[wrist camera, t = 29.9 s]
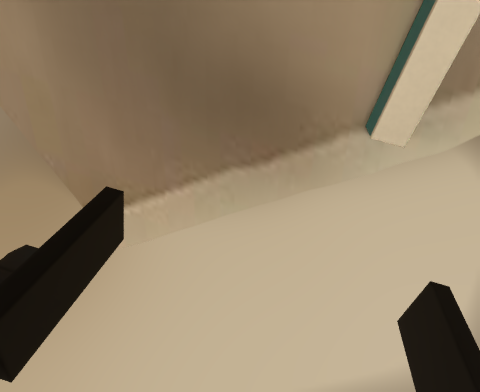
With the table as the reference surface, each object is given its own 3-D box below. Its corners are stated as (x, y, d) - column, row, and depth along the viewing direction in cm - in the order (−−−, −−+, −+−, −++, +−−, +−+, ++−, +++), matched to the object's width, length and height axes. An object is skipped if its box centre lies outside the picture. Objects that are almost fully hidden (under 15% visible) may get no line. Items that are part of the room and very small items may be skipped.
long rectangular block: (396, 134, 43) (404, 147, 40) (365, 126, 44) (370, 138, 40) (503, -67, 31) (530, -77, 27) (459, -78, 31) (480, -89, 28)
